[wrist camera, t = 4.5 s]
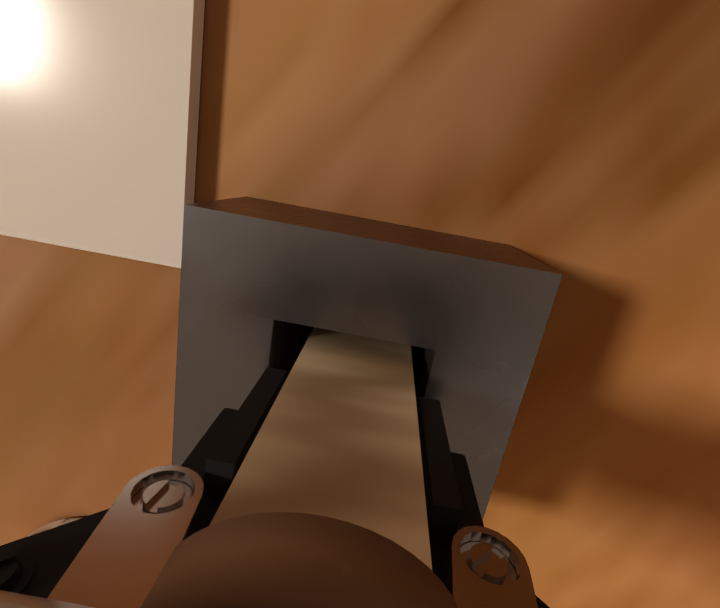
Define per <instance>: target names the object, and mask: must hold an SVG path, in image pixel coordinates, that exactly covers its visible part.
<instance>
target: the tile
mask: <svg viewBox="0 0 720 608" xmlns="http://www.w3.org/2000/svg"><path fill="white" fill-rule="evenodd" d="M204 9H205V0H0V234H1V235H6V236H12V237H17V238H22V239H28V240H33V241H38V242H44V243H49V244H54V245H60V246H65V247H70V248H76V249H81V250H86V251H92V252H97V253H102V254H108V255H113V256H118V257H124V258H129V259H134V260H140V261H145V262H150V263H156V264H161V265H166V266H172V267H177V268H181V259H182V238H183V217H184V204H192V203H194V193H195V175H196V157H197V138H198V120H199V101H200V83H201V64H202V46H203V28H204Z"/></svg>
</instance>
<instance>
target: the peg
mask: <svg viewBox="0 0 720 608" xmlns="http://www.w3.org/2000/svg"><path fill="white" fill-rule="evenodd" d="M140 608H457V604H456V602H455V600H454V598H453V596H452V595H451V593H450V592H449V591H448V589H447V588H446V586H445V585H444V583H443V582H442V581H441V580H440V579H439V578H438V577H437V576H436V575H435V573H434V572H433V571H432V562H431V552H430V541H429V531H428V520H427V510H426V500H425V489H424V479H423V468H422V458H421V447H420V437H419V427H418V416H417V406H416V395H415V385H414V374H413V364H412V354H411V345H406V344H401V343H396V342H390V341H385V340H380V339H374V338H369V337H364V336H358V335H353V334H348V333H343V332H337V331H332V330H327V329H321V328H316V327H314V328H313V330H312V332H311V334H310V335H309V337H308V339H307V341H306V343H305V345H304V347H303V349H302V351H301V353H300V354H299V356H298V358H297V360H296V362H295V364H294V366H293V368H292V370H291V372H290V373H289V375H288V377H287V379H286V381H285V383H284V385H283V387H282V389H281V391H280V392H279V394H278V396H277V398H276V400H275V402H274V404H273V406H272V408H271V410H270V411H269V413H268V415H267V417H266V419H265V421H264V423H263V425H262V427H261V429H260V430H259V432H258V434H257V436H256V438H255V440H254V442H253V444H252V446H251V448H250V449H249V451H248V453H247V455H246V457H245V459H244V461H243V463H242V465H241V467H240V468H239V470H238V472H237V474H236V476H235V478H234V480H233V482H232V484H231V486H230V487H229V489H228V491H227V493H226V495H225V497H224V499H223V501H222V503H221V505H220V506H219V508H218V510H217V512H216V514H215V516H214V518H213V520H212V522H211V524H210V525H209V526H208V527H206V528H204V529H202V530H200V531H198V532H196V533H194V534H193V535H191V536H190V537H188V538H187V539H185V540H184V541H182V542H181V543H179V544H178V545H177V546H176V547H175V549H174V551H173V552H172V554H171V556H170V557H169V559H168V561H167V563H166V564H165V566H164V568H163V570H162V571H161V573H160V575H159V576H158V578H157V580H156V582H155V583H154V585H153V587H152V588H151V590H150V592H149V594H148V595H147V597H146V599H145V601H144V602H143V604H142V606H141V607H140Z"/></svg>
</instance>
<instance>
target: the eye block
mask: <svg viewBox="0 0 720 608" xmlns="http://www.w3.org/2000/svg"><path fill="white" fill-rule="evenodd" d="M562 275H563V274H561V273H559V272H557V271H555V270H554V269H552V268H550V267H548V266H546V265H545V264H543V263H541V262H539V261H537V260H536V259H534V258H532V257H530V256H528V255H527V254H525V253H523V252H521V251H519V250H518V249H516V248H514V247H512V246H510V245H506V244H501V243H496V242H490V241H485V240H479V239H474V238H468V237H463V236H458V235H452V234H447V233H441V232H436V231H430V230H425V229H420V228H414V227H409V226H403V225H398V224H393V223H387V222H382V221H376V220H371V219H365V218H360V217H355V216H349V215H344V214H338V213H333V212H327V211H322V210H317V209H311V208H306V207H300V206H295V205H290V204H284V203H279V202H273V201H268V200H262V199H257V198H252V197H240V198H232V199H224V200H216V201H208V202H200V203H192V204H184V217H183V238H182V259H181V280H180V301H179V322H178V344H177V365H176V386H175V407H174V428H173V449H172V465H176V466H181V465H182V464H183V462H184V461H185V460H186V458H187V457H188V456H189V454H190V453H191V452H192V450H193V449H194V448H195V446H196V445H197V444H198V442H199V441H200V440H201V438H202V437H203V436H204V434H205V433H206V432H207V430H208V429H209V427H210V426H211V425H212V423H213V422H214V421H215V419H216V418H217V417H218V415H219V414H220V413H221V411H222V410H223V409H224V408H231V409H236V410H239V408H240V407H241V405H242V404H243V402H244V401H245V399H246V398H247V396H248V395H249V393H250V392H251V390H252V389H253V387H254V386H255V384H256V383H257V382H258V380H259V379H260V377H261V376H262V374H263V373H264V371H265V370H266V368H267V367H270V368H275V369H280V370H286V371H288V375H289V373H290V372H291V370H292V368H293V366H294V364H295V362H296V357H297V350H298V343H299V336H300V329H301V325H306V326H311V327H316V328H321V329H327V330H332V331H337V332H343V333H348V334H353V335H358V336H364V337H369V338H374V339H380V340H385V341H390V342H396V343H401V344H406V345H411V346H412V349H411V354H412V364H413V374H414V385H415V395H416V401H417V400H418V398H419V397H424V398H430V399H435V400H439V401H440V404H441V409H442V414H443V419H444V423H445V428H446V433H447V438H448V442H449V447H450V452H454V453H459V454H463V455H465V457H466V460H467V464H468V468H469V472H470V475H471V479H472V483H473V487H474V491H475V494H476V498H477V502H478V506H479V510H480V513H481V517H482V520H483V517H484V514H485V511H486V508H487V505H488V501H489V498H490V495H491V492H492V489H493V486H494V483H495V480H496V477H497V474H498V471H499V468H500V465H501V462H502V459H503V456H504V453H505V450H506V446H507V443H508V440H509V437H510V434H511V431H512V428H513V425H514V422H515V419H516V416H517V413H518V410H519V407H520V404H521V401H522V398H523V395H524V391H525V388H526V385H527V382H528V379H529V376H530V373H531V370H532V367H533V364H534V361H535V358H536V355H537V352H538V349H539V346H540V343H541V340H542V337H543V333H544V330H545V327H546V324H547V321H548V318H549V315H550V312H551V309H552V306H553V303H554V300H555V297H556V294H557V291H558V288H559V285H560V282H561V278H562Z"/></svg>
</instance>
